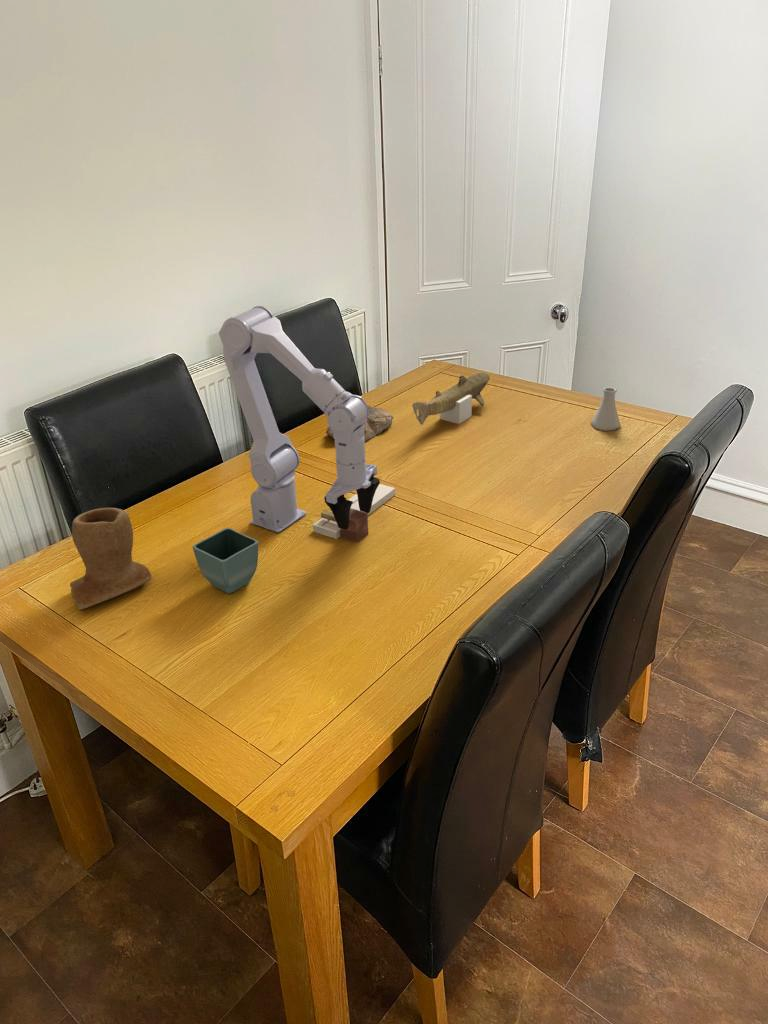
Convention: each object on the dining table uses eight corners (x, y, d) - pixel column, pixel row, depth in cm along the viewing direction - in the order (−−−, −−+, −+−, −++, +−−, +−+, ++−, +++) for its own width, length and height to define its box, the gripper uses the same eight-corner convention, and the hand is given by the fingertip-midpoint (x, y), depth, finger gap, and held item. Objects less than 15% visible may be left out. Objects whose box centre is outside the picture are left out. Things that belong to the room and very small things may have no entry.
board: (336, 539, 164) (336, 532, 163) (313, 531, 167) (312, 524, 166) (395, 494, 180) (395, 487, 179) (373, 487, 183) (372, 481, 182)
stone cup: (133, 559, 160) (118, 493, 152) (160, 585, 152) (146, 516, 144) (57, 589, 152) (37, 520, 144) (81, 618, 143) (62, 547, 136)
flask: (585, 423, 211) (589, 387, 206) (607, 418, 213) (612, 382, 208) (603, 433, 205) (607, 396, 200) (625, 428, 208) (630, 391, 203)
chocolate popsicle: (357, 543, 163) (356, 521, 160) (317, 529, 168) (316, 509, 165) (368, 534, 166) (367, 513, 163) (329, 521, 171) (327, 500, 168)
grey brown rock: (353, 452, 200) (400, 423, 214) (352, 434, 198) (400, 406, 211) (311, 440, 208) (359, 413, 221) (309, 422, 205) (358, 396, 219)
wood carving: (398, 439, 205) (398, 398, 200) (471, 396, 229) (472, 358, 223) (428, 448, 200) (428, 406, 195) (499, 402, 224) (501, 364, 219)
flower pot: (233, 565, 157) (227, 526, 152) (264, 581, 152) (259, 540, 148) (197, 586, 151) (190, 546, 147) (229, 603, 146) (222, 562, 142)
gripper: (345, 478, 149) (349, 541, 156) (388, 449, 160) (390, 509, 166) (315, 470, 153) (320, 531, 160) (359, 441, 163) (362, 500, 170)
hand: (354, 519), depth 163 cm, fingers open, 7 cm apart
